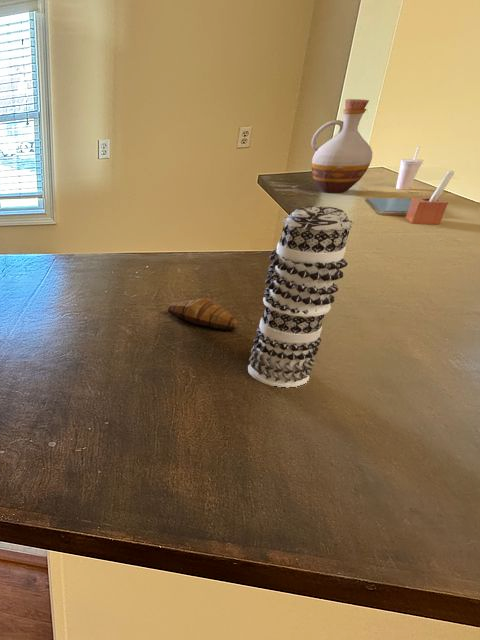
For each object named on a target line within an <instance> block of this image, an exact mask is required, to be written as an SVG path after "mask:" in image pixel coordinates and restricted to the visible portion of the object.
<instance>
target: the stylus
mask: <svg viewBox="0 0 480 640" xmlns="http://www.w3.org/2000/svg"><path fill="white" fill-rule="evenodd" d="M454 175H455V171H454V170H448V171H446V173H445V175H444V176H443V178H442V179H441V181H440V183H439V184H438V186H437V187H436V189H435V191H434V192H433V194H432V195H431V199H430V200H429V201H437V200H438V198H439V197H440V198H441V195H442V194H443V192H444V190H445V189H446V187H447V186H448V184H449V183H450V182H451V179H452V178H453V177H454Z"/></svg>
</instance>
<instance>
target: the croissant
mask: <svg viewBox="0 0 480 640" xmlns="http://www.w3.org/2000/svg"><path fill="white" fill-rule="evenodd" d="M167 311H168V312H167V313H169V314H170V315H171V316H173V317H176V318H178V319H181V320H183V321H186V322H189V323H191V324H193V325H197V326H202V327H209V328H212V329H215V330H216V329H217V330H222V331H235V330H236V329H237V328H238V326H239V321H238V320H237V318H236V317H234V315H233V314H232V313H230V312H229V311H227V310H226V308H223V307H222V306H221V305H220V303H219V302H218V301H216V300H214V299H211V298H207V297H202V298H196V299H192V300H184V301H177V302H173V303H169V306H168V308H167Z"/></svg>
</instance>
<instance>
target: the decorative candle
mask: <svg viewBox="0 0 480 640" xmlns="http://www.w3.org/2000/svg"><path fill="white" fill-rule="evenodd" d="M281 221H282V223H283V227H282V229H281V231H282V232H281V236H280V239H279V240H278V242H277V246H276V247H275V249H273V250H272V251H271V252H270V255H269V260H270V262H271V264H269V265H268V266H267V275H266V279H265V281H264V283H265V284H266V288H265V289H264V293H263V298H262V301H263V302H262V303H263V305H264V310H263V315H262V317H261V318H260V320H259V326H258V327H256V330H255V335H256V336H255V337H254V339H253V343H254V345H253V346H252V347H251V349H250V354H251V355H250V357H249V359H248V362H249V364H248V365H247V371H248V374H249V375H250V376H251V377H252V379H254V380H256V381H258V382H260V383H262V384H264V385H268V386H271V387H274V386H277V387H276V388H281V387H286V388H285V389H290V388H289V387H296V388H298V387H297V386H300V385H303V384H305V383H306V384H308V382H309V380H310V375H311V374H312V372H311V371H313V366H315V363H314V362H316V358H315V356H317V354H318V351H319V348H318V347H319V346H320V343H321V342H322V338H321V337H320V336H321V335H322V330H323V326H322V325H323V321H324V319H325V314H328V313H329V312H330V310H331V309H332V306H331V304H333V303H334V302H335V296H334V295H333V294H335V293H337V292H338V291H339V287H338V285H337V284H336V283H335V282H334V281H337V280H340V279H343V278H344V272H343V271H342V270H341V269H344V268H346V267H347V266H348V264H349V263H348V262H347V260H346V259H344V257H345V254H346V250H347V246H346V244H347V241H348V237H349V235H350V230H351V228H353V226H355V223H354V222H353V221H352V220H350V219H349V217H348V214H347V213H346V212H345V211H344V210H343V209H341V208H337V207H332V206H325V205H308V206H301V207H298V208H296V209H295V210H293V211H292V212H291V213H290V215H289V216H286V217H285V216H284V218H282V219H281ZM307 381H308V382H307ZM306 384H305V385H306ZM303 386H304V385H303ZM300 387H301V386H300Z"/></svg>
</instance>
